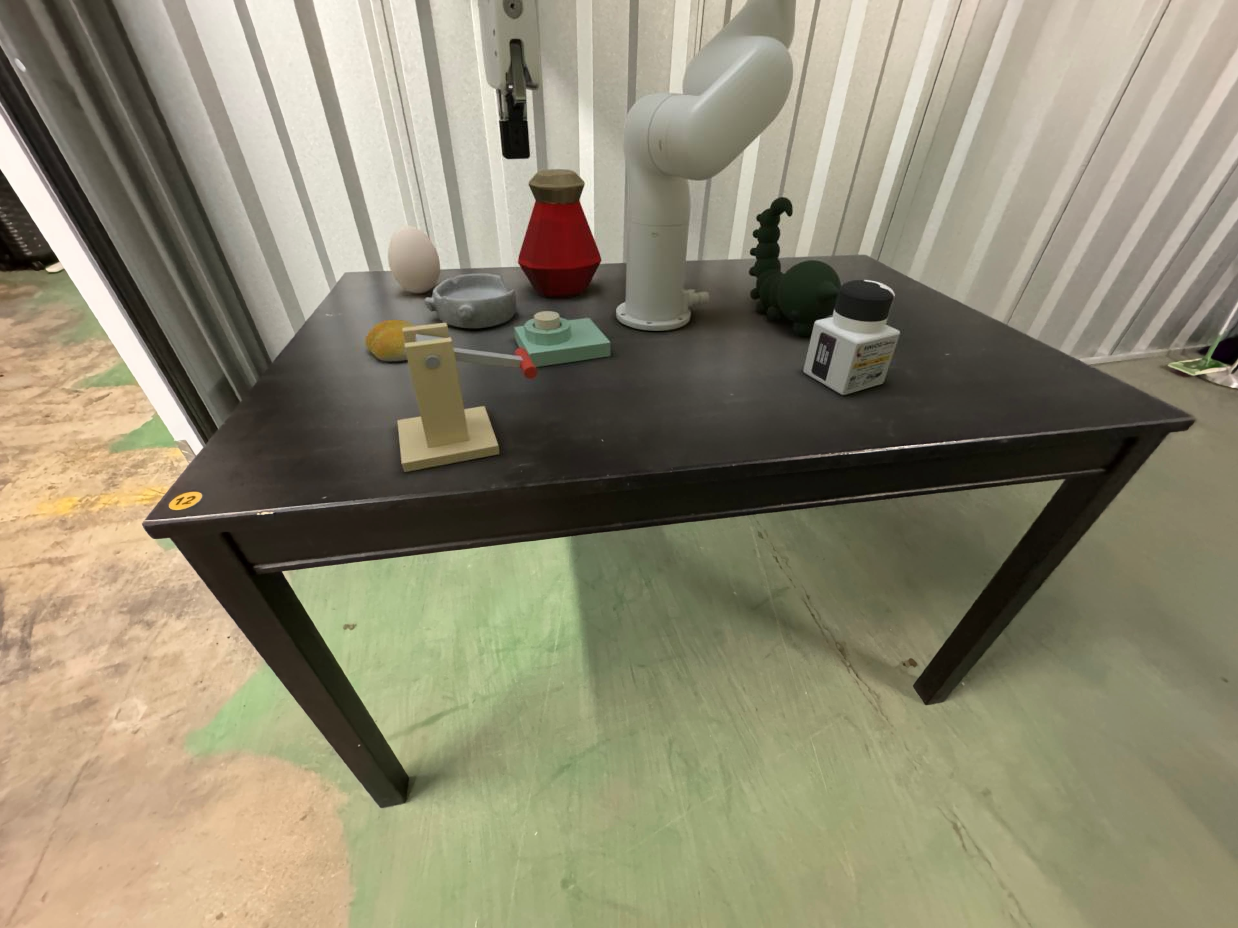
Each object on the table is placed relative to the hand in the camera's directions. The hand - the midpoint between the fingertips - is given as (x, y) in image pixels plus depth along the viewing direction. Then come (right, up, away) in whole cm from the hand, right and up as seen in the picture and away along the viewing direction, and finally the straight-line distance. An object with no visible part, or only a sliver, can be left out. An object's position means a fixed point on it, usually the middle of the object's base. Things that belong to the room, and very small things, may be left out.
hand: (516, 157), depth 69 cm
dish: (-11, -14, +24) cm, 29 cm away
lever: (-2, -28, -11) cm, 30 cm away
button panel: (+4, -21, +14) cm, 25 cm away
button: (+2, -19, +11) cm, 22 cm away
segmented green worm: (+41, -14, +24) cm, 50 cm away
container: (+44, -27, +7) cm, 52 cm away
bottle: (+2, -6, +35) cm, 35 cm away
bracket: (-6, -36, -7) cm, 37 cm away
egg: (-24, -7, +33) cm, 41 cm away
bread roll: (-20, -22, +12) cm, 32 cm away
